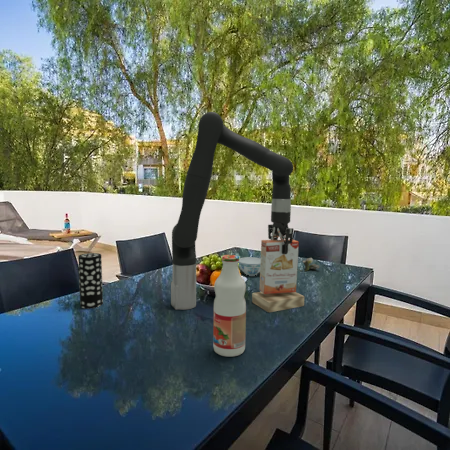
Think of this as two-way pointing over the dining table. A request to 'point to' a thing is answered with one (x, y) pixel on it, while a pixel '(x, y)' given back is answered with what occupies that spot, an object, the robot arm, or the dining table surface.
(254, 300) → the birch plinth
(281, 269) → the cracker box
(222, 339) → the fruit juice
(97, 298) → the white-spotted black cylinder
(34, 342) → the dining table surface
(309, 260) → the artificial flower
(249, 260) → the chinaware
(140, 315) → the dining table surface
